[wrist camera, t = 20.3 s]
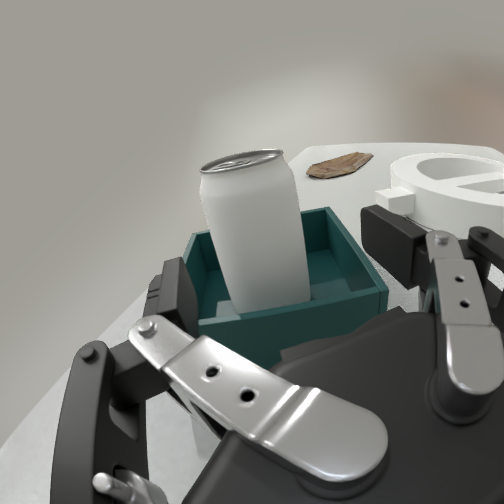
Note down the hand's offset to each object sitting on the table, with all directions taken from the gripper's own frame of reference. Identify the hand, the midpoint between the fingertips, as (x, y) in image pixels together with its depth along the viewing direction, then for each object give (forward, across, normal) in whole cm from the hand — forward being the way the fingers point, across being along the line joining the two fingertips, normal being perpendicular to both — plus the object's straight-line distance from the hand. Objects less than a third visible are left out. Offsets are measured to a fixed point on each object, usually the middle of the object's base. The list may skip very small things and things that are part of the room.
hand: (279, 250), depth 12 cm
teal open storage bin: (+9, 0, +10) cm, 13 cm away
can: (+8, 0, +9) cm, 12 cm away
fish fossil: (+49, -29, +10) cm, 58 cm away
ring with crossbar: (+15, -35, +10) cm, 40 cm away
